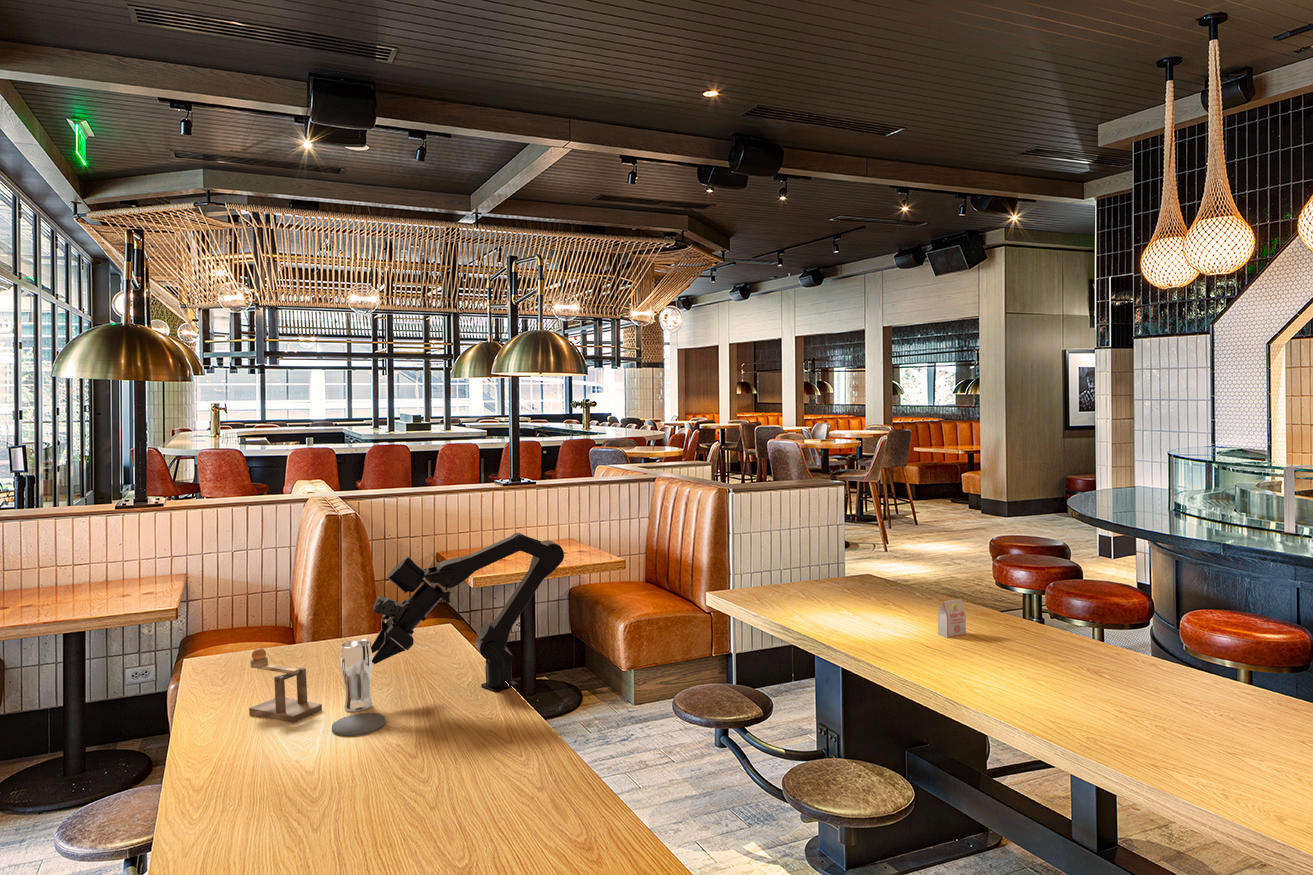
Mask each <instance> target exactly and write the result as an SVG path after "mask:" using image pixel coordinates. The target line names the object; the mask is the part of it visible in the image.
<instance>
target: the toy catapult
mask: <svg viewBox="0 0 1313 875" xmlns="http://www.w3.org/2000/svg"><path fill="white" fill-rule="evenodd" d="M266 655H267V652H266V650H265V649H264V648H262V647H257V648H255V649H254V650H253V651H252V653H251V659H250V668H252V669H258V670H264V671H269V672H274V673H275V672H276V673H282V674H280V675H276V676H274V677H273V678H274V697H273V698H271V699H269V700H266V701H264V702H261V703H258V704H256V705H253V706H251V707H249V708H248V710H249V715H251V716H255V717H261V718H266V719H270V720H275V721H282V722H287V723H291V724H295V723H297V722H299V721H302V720H303V719H306V718H308V717H310V716H312V715H315V714H317V713H320V712H322V711H323V704H322V703H319V702H317V703H316V702H310V701H308V685H307V668H306V667H298V668H292V667H286V666H280V665H275V664H269V660H268V656H266ZM293 677H296V696H297V699H296V698H295V699H294V698H290V697H286V688H285V687H286V686H285V681H286V680H287V679H291V678H293Z"/></svg>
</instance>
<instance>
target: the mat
mask: <svg viewBox="0 0 1313 875" xmlns="http://www.w3.org/2000/svg"><path fill="white" fill-rule="evenodd" d="M385 725H386V717H385V715H383V714H380V713H376V712H375V713H374V712H362V713H355V714H350V715H346V716H344V717H341V718H339V719H337V720H336V721H334V722H333V723H332V725H331V732H332V734H334V735H337V736H341V737H342V736H343V737H356V736H357V737H358V736H362V735H367V734H371V733H374V732H376V731H378V730H380V729H382V728H383V727H384V726H385Z"/></svg>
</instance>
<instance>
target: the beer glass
mask: <svg viewBox="0 0 1313 875" xmlns="http://www.w3.org/2000/svg"><path fill="white" fill-rule="evenodd" d="M371 646H372V642H371V640H369V639H365V638H363V639H362V638H361V639H360V638H359V639H353V640H346V641H345V642H342V643H341V644H340V655H339V656H340V659H339V660H340V671H341V676H342V682H343V684H344V690H345V691H344V692H345V701H344V710H345V711H347V712H350V713H354V712H355V713H356V712H362V711H366V710H368V709H370V708H372V707H373V701H372V698H371V696H372V695H371V681H372V673H373V663H372V659H373V653H372V649H371Z"/></svg>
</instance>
